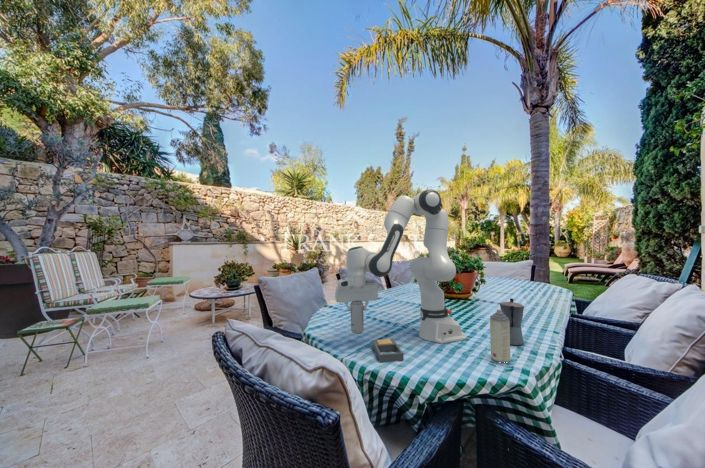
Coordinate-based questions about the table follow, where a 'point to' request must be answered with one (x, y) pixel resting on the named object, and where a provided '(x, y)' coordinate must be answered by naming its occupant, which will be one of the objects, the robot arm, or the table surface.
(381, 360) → the socket block
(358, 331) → the energy drink can
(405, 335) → the table surface
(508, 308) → the moka pot
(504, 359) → the aerosol can
